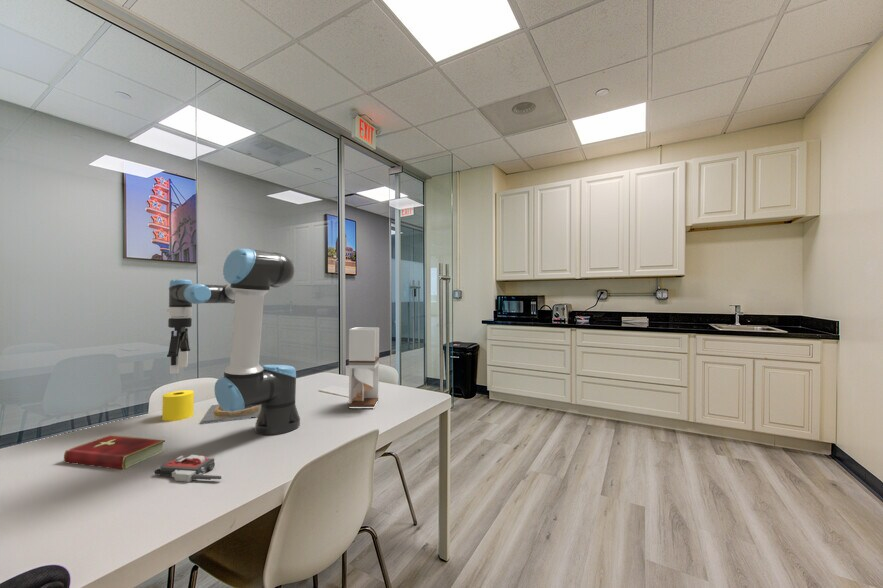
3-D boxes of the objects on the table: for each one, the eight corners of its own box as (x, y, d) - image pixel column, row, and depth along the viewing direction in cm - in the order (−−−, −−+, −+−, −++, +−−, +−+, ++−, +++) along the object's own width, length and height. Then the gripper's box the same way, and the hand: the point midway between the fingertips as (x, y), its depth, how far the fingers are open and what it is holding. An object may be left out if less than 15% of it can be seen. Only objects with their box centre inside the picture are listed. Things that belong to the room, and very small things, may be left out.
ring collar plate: (265, 416, 141) (265, 410, 141) (200, 423, 132) (200, 417, 132) (267, 401, 161) (267, 396, 161) (211, 407, 152) (211, 401, 152)
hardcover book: (123, 471, 96) (123, 456, 96) (63, 464, 100) (64, 449, 100) (164, 452, 108) (165, 439, 108) (110, 447, 112) (110, 434, 112)
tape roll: (198, 412, 145) (198, 389, 146) (184, 420, 136) (185, 396, 136) (171, 413, 144) (172, 390, 144) (156, 421, 134) (156, 397, 134)
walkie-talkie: (146, 481, 91) (217, 485, 90) (146, 464, 91) (218, 468, 90) (174, 465, 100) (240, 469, 98) (175, 450, 100) (240, 453, 98)
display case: (348, 408, 152) (349, 329, 153) (353, 401, 163) (355, 327, 163) (374, 409, 152) (375, 329, 153) (378, 402, 163) (379, 327, 164)
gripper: (177, 316, 150) (176, 365, 150) (158, 319, 127) (157, 377, 127) (198, 316, 153) (197, 364, 153) (183, 319, 130) (181, 375, 130)
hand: (178, 370), depth 140 cm, fingers open, 13 cm apart
